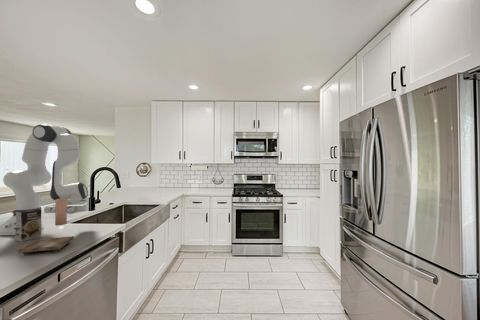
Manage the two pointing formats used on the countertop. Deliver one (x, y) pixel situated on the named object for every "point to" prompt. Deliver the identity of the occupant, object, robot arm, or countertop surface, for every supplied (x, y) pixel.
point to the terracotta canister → (60, 211)
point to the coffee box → (28, 224)
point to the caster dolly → (45, 245)
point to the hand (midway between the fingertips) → (60, 211)
